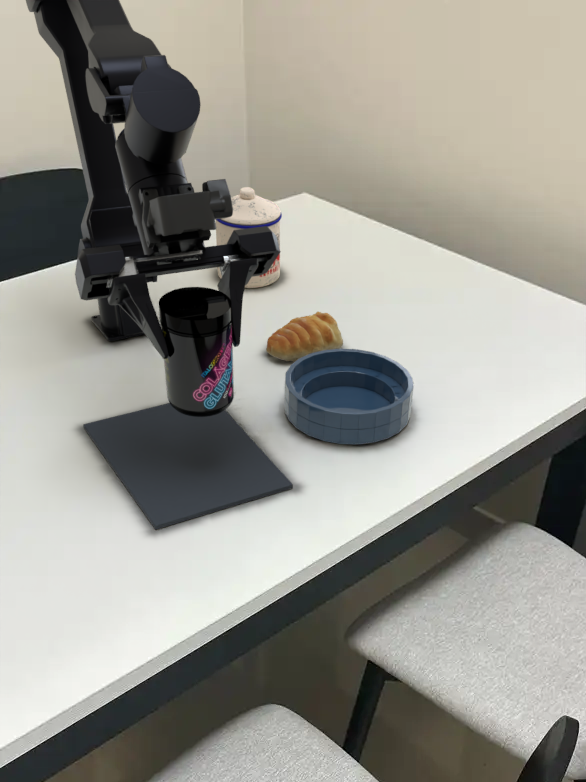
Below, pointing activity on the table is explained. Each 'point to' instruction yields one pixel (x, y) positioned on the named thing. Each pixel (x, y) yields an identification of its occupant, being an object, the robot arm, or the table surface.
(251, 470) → the placemat
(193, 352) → the supplement container
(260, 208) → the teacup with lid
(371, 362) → the bowl
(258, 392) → the table surface
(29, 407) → the table surface
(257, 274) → the robot arm
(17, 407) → the table surface
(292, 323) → the pastry
